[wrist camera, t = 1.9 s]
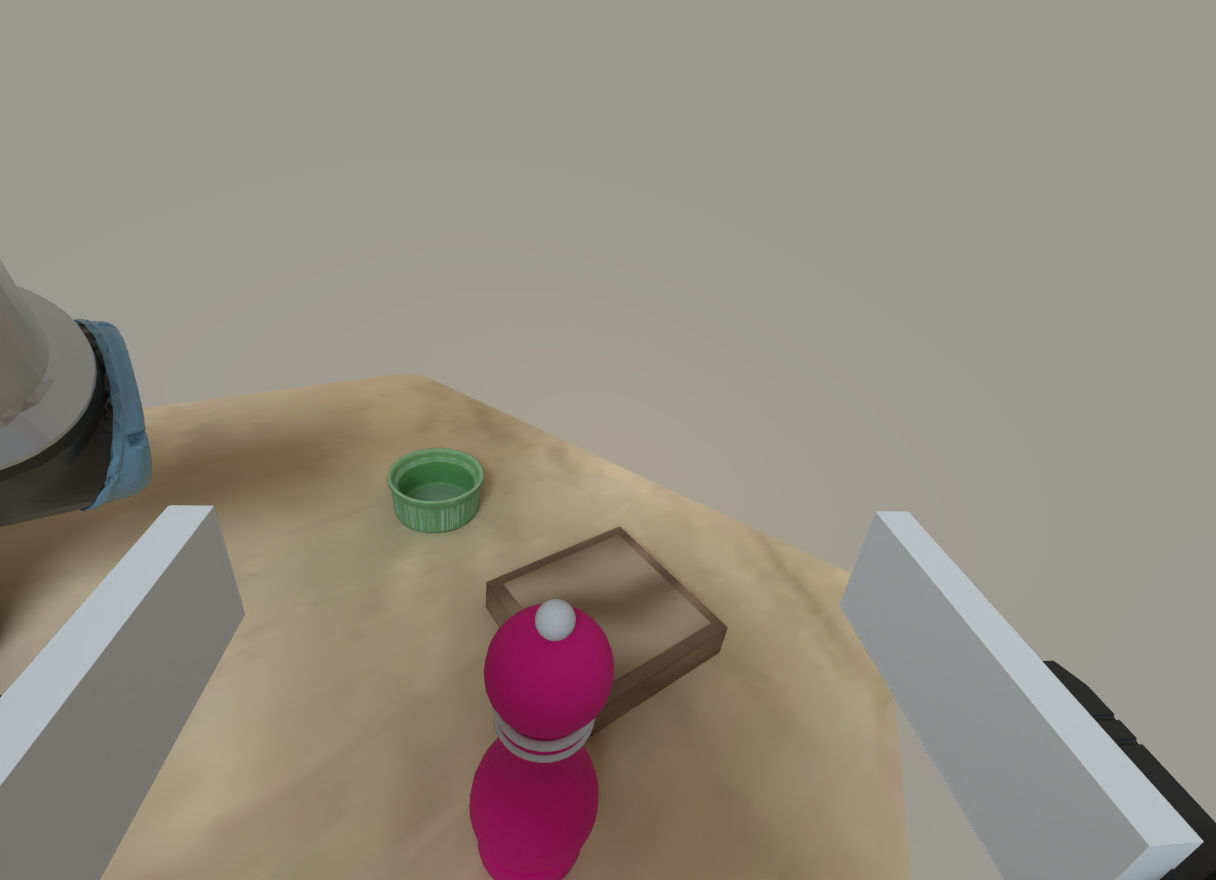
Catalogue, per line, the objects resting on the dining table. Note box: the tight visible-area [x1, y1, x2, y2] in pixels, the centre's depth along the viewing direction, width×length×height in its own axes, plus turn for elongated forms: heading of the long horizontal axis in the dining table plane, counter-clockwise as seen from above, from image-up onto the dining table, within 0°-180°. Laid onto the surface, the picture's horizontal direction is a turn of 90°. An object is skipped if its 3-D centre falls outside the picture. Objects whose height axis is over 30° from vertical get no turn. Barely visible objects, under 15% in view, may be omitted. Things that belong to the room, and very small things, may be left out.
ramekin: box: [387, 448, 484, 533], centre depth 59 cm, size 9×9×4 cm
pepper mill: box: [469, 599, 614, 880], centre depth 31 cm, size 7×7×20 cm
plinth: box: [486, 527, 727, 737], centre depth 49 cm, size 14×14×3 cm
